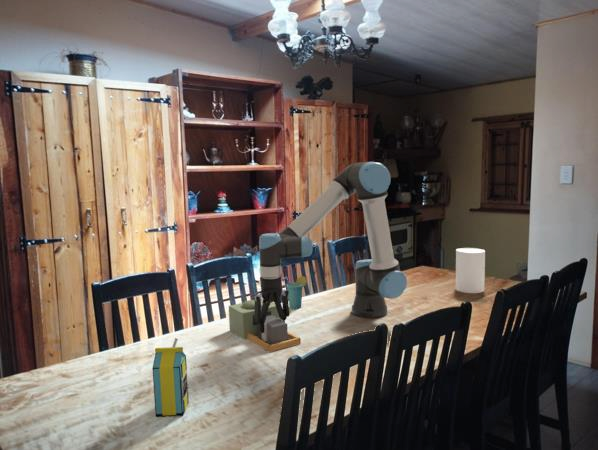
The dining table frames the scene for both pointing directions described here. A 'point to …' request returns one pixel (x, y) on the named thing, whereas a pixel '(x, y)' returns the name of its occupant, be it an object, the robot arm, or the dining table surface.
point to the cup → (295, 292)
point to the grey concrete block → (275, 330)
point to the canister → (470, 270)
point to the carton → (170, 381)
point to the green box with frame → (255, 325)
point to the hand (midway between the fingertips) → (272, 338)
